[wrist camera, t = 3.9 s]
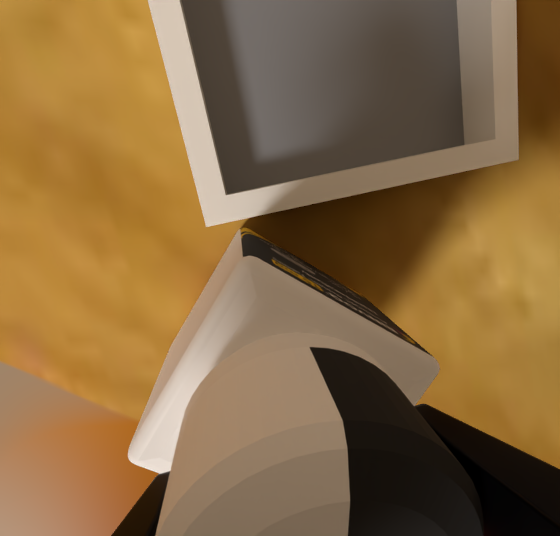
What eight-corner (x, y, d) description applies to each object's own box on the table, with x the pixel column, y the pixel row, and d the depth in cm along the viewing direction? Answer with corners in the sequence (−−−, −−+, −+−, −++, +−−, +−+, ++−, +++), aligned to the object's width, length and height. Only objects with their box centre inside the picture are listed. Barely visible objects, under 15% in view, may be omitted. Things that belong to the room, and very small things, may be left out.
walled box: (460, -183, 13) (512, -268, 11) (476, 163, 16) (518, 159, 14) (120, -139, 12) (91, -220, 10) (210, 220, 15) (206, 227, 13)
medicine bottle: (363, 295, 17) (630, 522, 6) (290, 405, 18) (387, 794, 7) (241, 223, 15) (255, 333, 4) (168, 349, 16) (8, 733, 5)
